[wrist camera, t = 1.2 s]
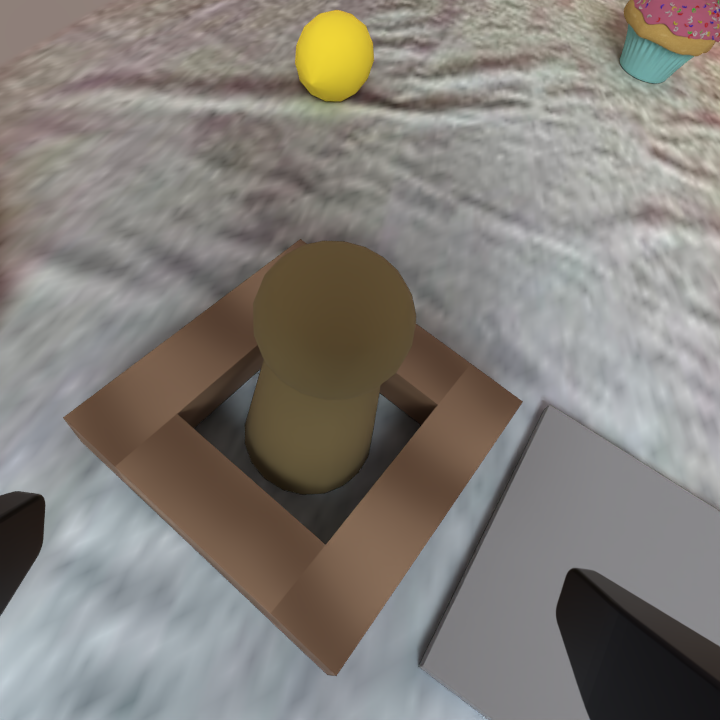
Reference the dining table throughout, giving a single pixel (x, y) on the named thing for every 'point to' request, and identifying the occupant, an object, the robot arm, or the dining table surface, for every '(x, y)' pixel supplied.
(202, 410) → the socket block
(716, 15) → the cupcake
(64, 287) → the dining table surface
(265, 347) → the cork
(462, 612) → the grey mat
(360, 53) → the lemon
